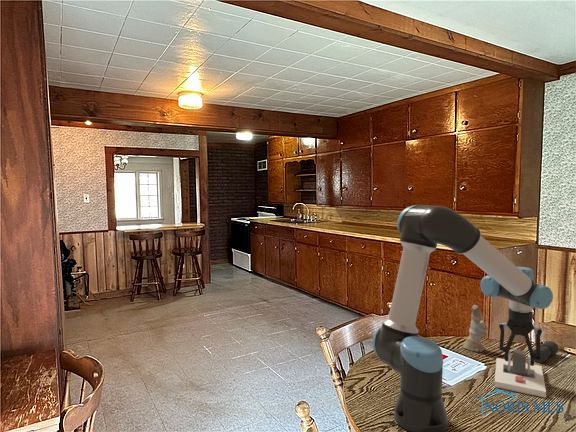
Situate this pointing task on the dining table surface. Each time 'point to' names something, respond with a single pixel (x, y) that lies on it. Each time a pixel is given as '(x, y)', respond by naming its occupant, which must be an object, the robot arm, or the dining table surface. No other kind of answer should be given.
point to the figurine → (476, 331)
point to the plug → (519, 362)
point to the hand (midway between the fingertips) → (518, 371)
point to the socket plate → (520, 379)
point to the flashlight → (546, 351)
